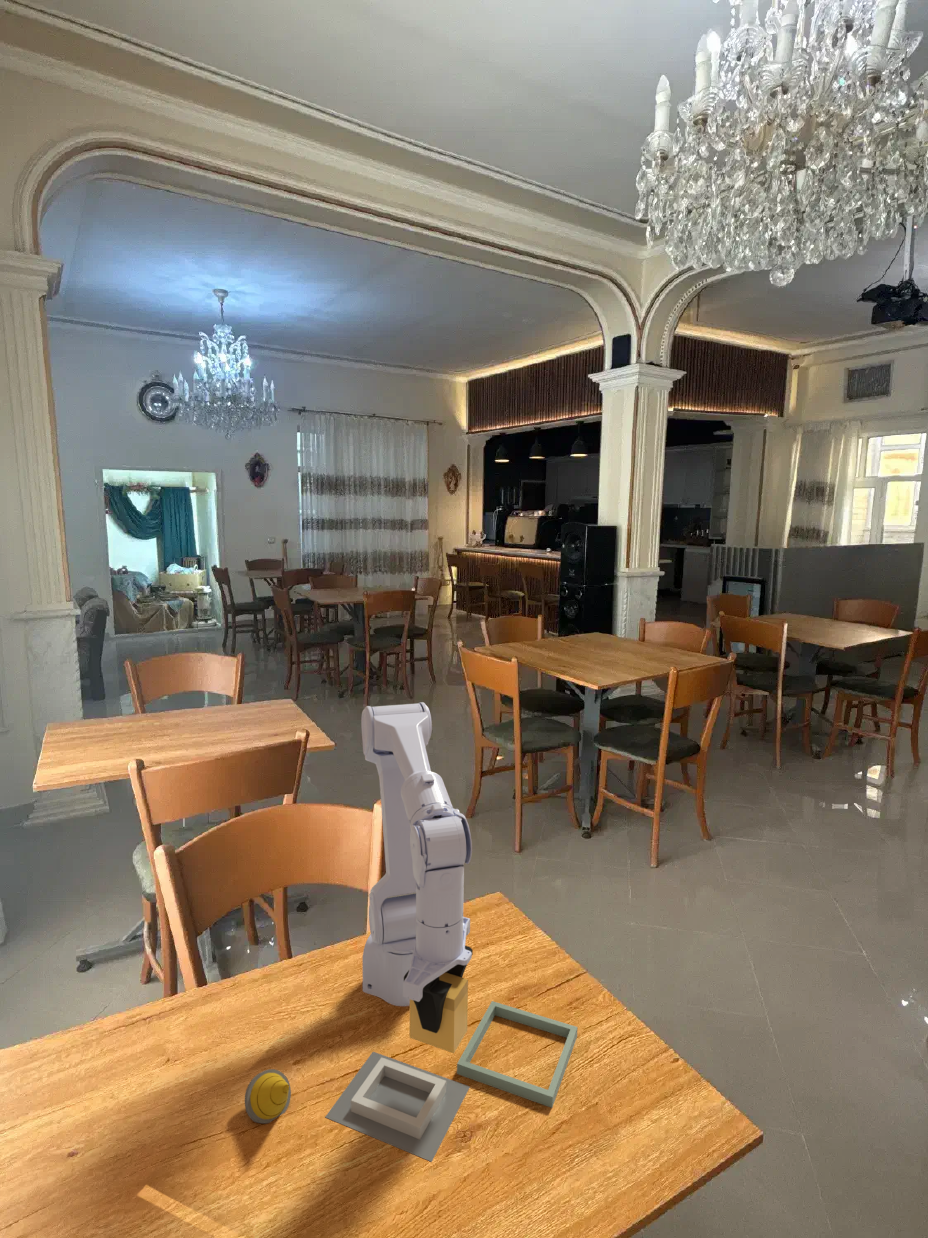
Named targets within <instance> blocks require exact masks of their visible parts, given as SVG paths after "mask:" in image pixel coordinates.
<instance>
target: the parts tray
mask: <svg viewBox="0 0 928 1238" xmlns="http://www.w3.org/2000/svg"><path fill="white" fill-rule="evenodd" d="M495 1016H496V1017H499V1018H502V1019H505V1020H510V1021H512V1022H515V1023H518V1024H521V1025H525V1026H528V1027H531V1028H534V1029H537V1030H540V1031H544V1032H548V1033H550V1034H553V1035H557V1036H560V1037H563V1038H566V1040H565V1042H564V1046H563V1048H562V1052H561V1054H560V1056H559V1058H558V1059H559V1060H558V1062H557V1065H556V1067H555V1070H554V1072H553V1076H552V1078H551V1081H550V1084H549V1087H548V1089H546V1088H543V1087H541V1086H537V1085H535V1084H532V1083H529V1082H526V1081H524V1080H521V1079H517V1078H514V1077H512V1076H509V1075H506V1074H503V1073H501V1072H497V1071H494V1070H493V1069H492V1070H491V1069H488V1068H486V1067H483V1066H480V1065H477V1064H474V1063H471V1061H472V1059H473V1058H474V1057H475V1056H474V1055H475V1054H476V1051H477V1050H478V1048H479V1047H480V1044H481V1042H482V1040H484V1039H483V1038H484V1037H485V1035H486V1034H487V1031H488V1029H489V1027H490V1026H491V1024H492V1021H494V1020H493V1019H494V1018H495ZM577 1039H578V1026H575V1025H572V1024H569V1023H566V1022H562V1021H559V1020H555V1019H552V1018H549V1017H546V1016H543V1015H539V1014H536V1013H533V1012H530V1011H526V1010H523V1009H521V1008H517V1007H513V1006H510V1005H506V1004H504V1003H501V1002H498V1001H497V1002H496V1001H494V1000H493V1001H491V1002H490V1004H489V1005H488V1008H487V1009H486V1011H485V1013H484V1014H483V1016H482V1018H481V1020H480V1022H479V1024H478V1026H477V1027H476V1029H475V1031H474V1032H473V1034H472V1036H471V1038H470V1039H469V1042H468V1043H467V1045H466V1047H465V1049H464V1050H463V1053H462V1054H461V1056H460V1058H459V1060H458V1061H457V1064H456V1075H459V1076H461V1077H464V1078H467V1079H470V1080H473V1081H475V1082H479V1083H481V1084H484V1085H487V1086H490V1087H493V1088H495V1089H497V1090H501V1091H502V1092H503V1091H505V1092H506V1093H509V1094H511V1095H514V1096H518V1097H521V1098H523V1099H527V1100H529V1101H532V1102H534V1103H537V1104H540V1105H542V1106H546V1107H548V1108H551V1109H553V1107H554V1103H555V1101H556V1098H557V1096H558V1092H559V1090H560V1087H561V1084H562V1081H563V1078H564V1075H565V1073H566V1069H567V1067H568V1064H569V1061H570V1059H571V1055H572V1053H573V1049H574V1046H575V1044H576V1041H577Z"/></svg>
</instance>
